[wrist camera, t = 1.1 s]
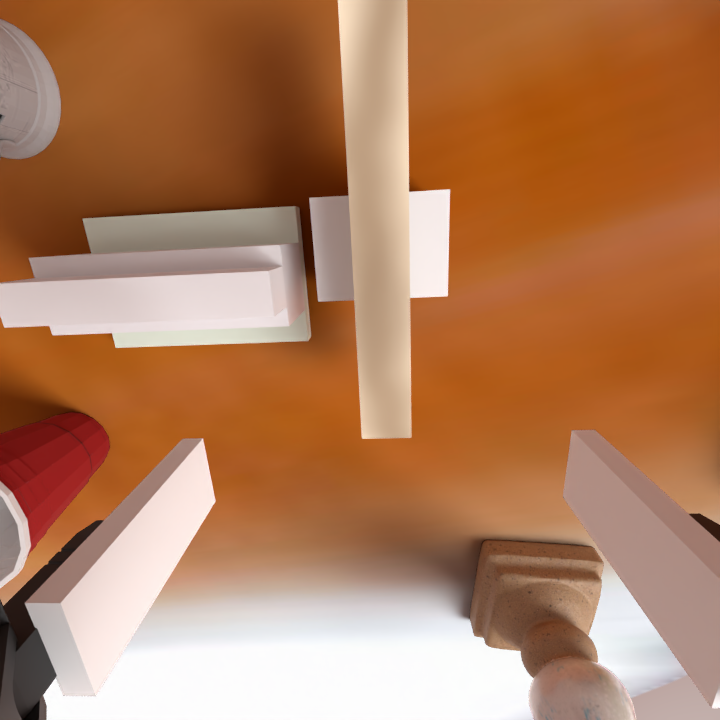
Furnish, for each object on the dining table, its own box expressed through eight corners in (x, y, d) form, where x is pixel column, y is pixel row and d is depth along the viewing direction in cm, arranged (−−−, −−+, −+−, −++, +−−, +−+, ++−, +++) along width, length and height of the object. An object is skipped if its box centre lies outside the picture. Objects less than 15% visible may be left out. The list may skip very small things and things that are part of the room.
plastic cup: (85, 364, 34) (-65, 430, 22) (158, 459, 37) (58, 562, 25) (-2, 413, 36) (-179, 497, 25) (74, 500, 39) (-54, 612, 27)
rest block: (433, 199, 28) (449, 189, 22) (432, 282, 30) (447, 296, 23) (325, 205, 29) (309, 197, 22) (331, 286, 31) (318, 301, 24)
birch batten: (403, 19, 19) (407, -19, 16) (408, 415, 26) (411, 437, 23) (343, 24, 19) (337, -12, 17) (364, 416, 26) (362, 438, 23)
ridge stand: (299, 207, 29) (259, 195, 19) (311, 336, 32) (282, 379, 22) (96, 219, 30) (-36, 212, 20) (127, 342, 33) (25, 387, 24)
